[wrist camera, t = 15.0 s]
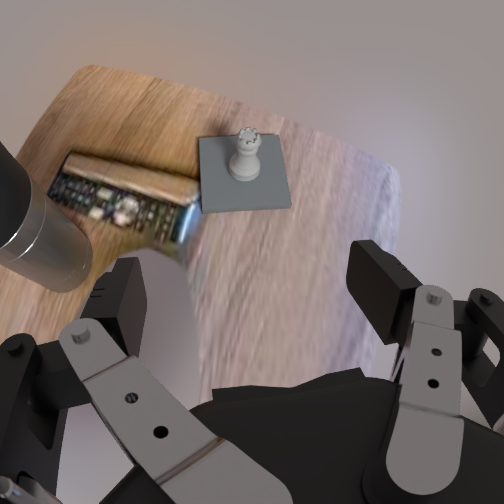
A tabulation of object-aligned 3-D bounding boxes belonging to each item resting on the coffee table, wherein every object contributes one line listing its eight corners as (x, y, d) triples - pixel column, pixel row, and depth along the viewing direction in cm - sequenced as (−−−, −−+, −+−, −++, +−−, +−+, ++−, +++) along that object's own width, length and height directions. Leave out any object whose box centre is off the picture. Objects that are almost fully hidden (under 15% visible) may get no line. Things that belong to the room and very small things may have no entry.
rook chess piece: (260, 158, 46) (268, 123, 38) (258, 185, 44) (266, 151, 37) (229, 155, 45) (232, 119, 38) (226, 181, 44) (228, 147, 36)
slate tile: (202, 213, 44) (202, 209, 42) (199, 142, 47) (199, 137, 46) (289, 208, 45) (291, 204, 44) (277, 139, 49) (278, 134, 47)
